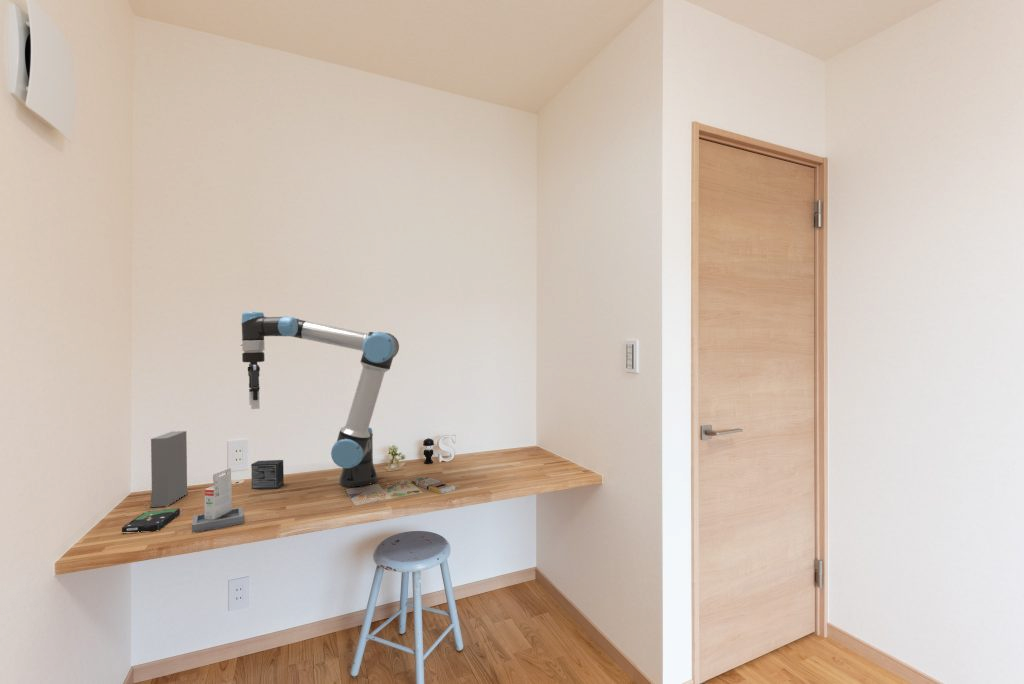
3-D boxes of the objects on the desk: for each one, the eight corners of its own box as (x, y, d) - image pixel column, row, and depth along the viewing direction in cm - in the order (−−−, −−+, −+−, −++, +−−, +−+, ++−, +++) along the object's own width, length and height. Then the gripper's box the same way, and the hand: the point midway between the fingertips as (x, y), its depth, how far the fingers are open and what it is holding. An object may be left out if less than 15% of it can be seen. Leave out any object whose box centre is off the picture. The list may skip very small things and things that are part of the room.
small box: (284, 484, 195) (284, 459, 195) (278, 489, 188) (277, 463, 188) (258, 485, 194) (258, 459, 194) (250, 490, 187) (250, 464, 187)
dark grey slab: (170, 495, 182) (169, 431, 182) (187, 494, 183) (186, 430, 183) (149, 508, 168) (148, 439, 168) (167, 506, 169) (166, 438, 169)
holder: (242, 514, 161) (242, 506, 161) (243, 523, 153) (243, 515, 153) (193, 522, 154) (193, 515, 154) (192, 533, 145) (192, 525, 145)
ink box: (203, 519, 150) (203, 474, 150) (222, 510, 158) (221, 467, 157) (214, 520, 149) (213, 474, 149) (232, 511, 157) (231, 468, 157)
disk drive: (159, 532, 148) (180, 515, 162) (159, 524, 148) (180, 507, 162) (121, 536, 145) (146, 518, 159) (121, 527, 145) (145, 510, 159)
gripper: (241, 351, 188) (242, 403, 188) (243, 352, 167) (244, 411, 167) (262, 351, 192) (263, 402, 192) (266, 352, 171) (267, 409, 171)
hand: (254, 406), depth 180 cm, fingers open, 13 cm apart
